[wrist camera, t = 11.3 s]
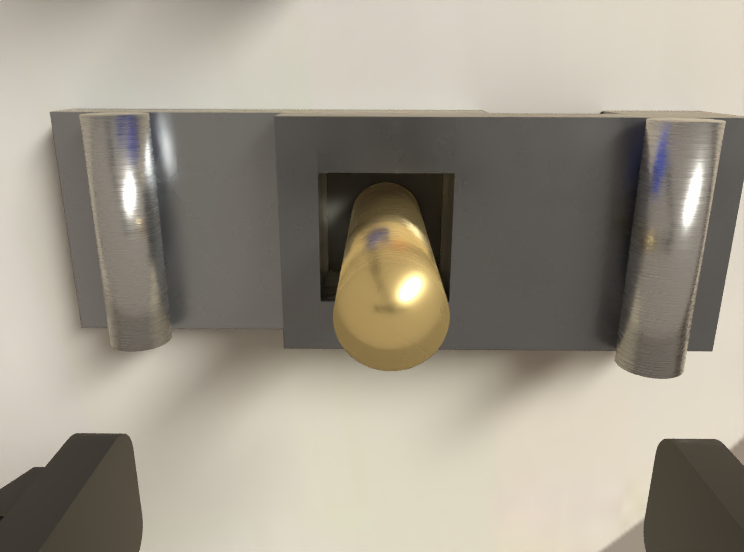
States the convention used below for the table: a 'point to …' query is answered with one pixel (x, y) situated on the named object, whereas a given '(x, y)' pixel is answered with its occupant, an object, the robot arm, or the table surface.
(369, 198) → the pin
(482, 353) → the table surface
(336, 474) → the table surface
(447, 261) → the grey plate with pins
